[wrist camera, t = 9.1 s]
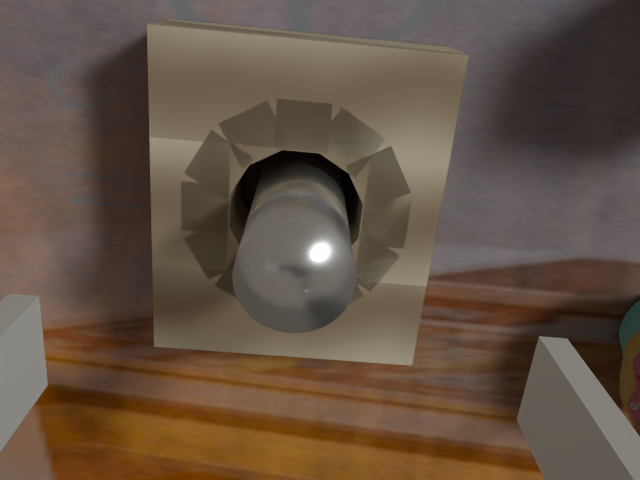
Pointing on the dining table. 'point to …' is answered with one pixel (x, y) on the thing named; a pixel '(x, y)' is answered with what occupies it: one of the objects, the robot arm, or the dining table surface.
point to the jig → (304, 136)
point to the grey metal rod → (296, 246)
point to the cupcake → (631, 363)
